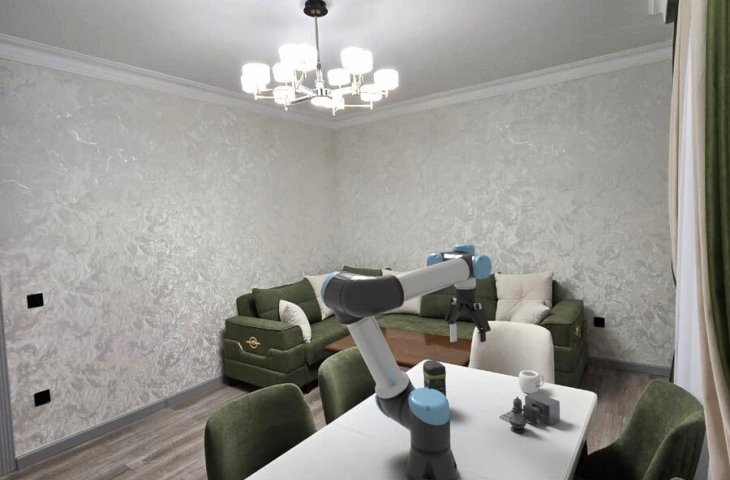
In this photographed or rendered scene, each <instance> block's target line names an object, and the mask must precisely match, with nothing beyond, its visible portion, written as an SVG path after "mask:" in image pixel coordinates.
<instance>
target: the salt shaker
mask: <svg viewBox="0 0 730 480" xmlns="http://www.w3.org/2000/svg"><path fill="white" fill-rule="evenodd" d="M512 404H513V405H512V406H513V407H512V409H511V410H513V416H511V417H510V418H509V420H510V423H509V424H510V425H511V426H510V427H509V428H510V429H509V430H510V431H511V432H513V433H515V434H518V435H519V434H520V435H522V434H525V433H527V429H526V428H525V427H526V425H527V423H528V421H527V420H526V419H525V418H523V416H522V414H523V401H522V399H521V398H519V396H516V398H514V399H513V402H512Z"/></svg>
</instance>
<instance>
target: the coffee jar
mask: <svg viewBox="0 0 730 480" xmlns="http://www.w3.org/2000/svg"><path fill="white" fill-rule="evenodd" d="M422 373H423V374H422V375H423V388H428V389H435V390H437V391H439V392H441V393H442V394H444V395H445V396H446V397H447V386H446V380H447V379H446V378H447V377H446V375H447V371H446V366H445V365H443V364H442V363H441V362H439V361H438V360H435V359H431V360H426V361H424V362H423V365H422Z"/></svg>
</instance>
